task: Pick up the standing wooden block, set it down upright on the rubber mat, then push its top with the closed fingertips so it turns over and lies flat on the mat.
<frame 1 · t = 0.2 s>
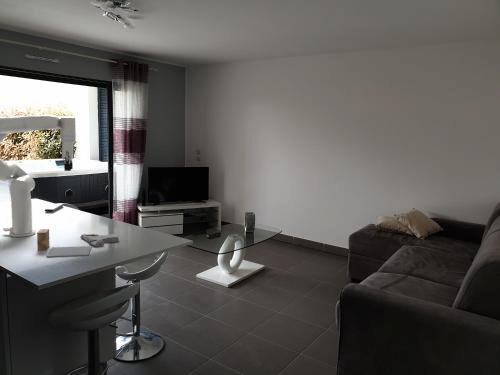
hand: (68, 169, 215), 36 cm above the table, tool pointing down, fingers open, 9 cm apart
wooden block: (43, 248, 190), on the table
pistol: (101, 241, 208), on the table
rubber mat: (69, 252, 186), on the table
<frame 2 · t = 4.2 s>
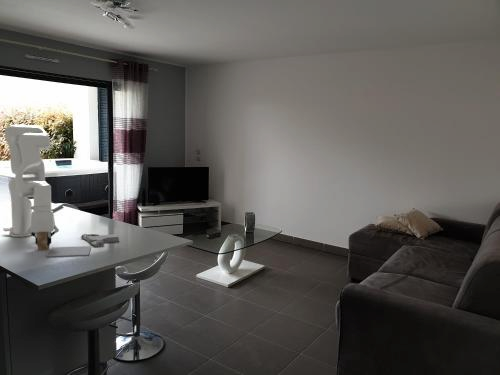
hand: (43, 244, 190), 2 cm above the table, tool pointing down, fingers closed on wooden block, 4 cm apart
wooden block: (43, 248, 190), on the table, touching gripper
everything else where it was.
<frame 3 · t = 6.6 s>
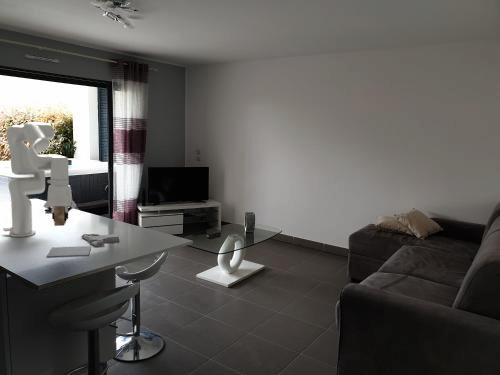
hand: (60, 220, 183), 16 cm above the table, tool pointing down, fingers closed on wooden block, 4 cm apart
wooden block: (60, 223, 183), point 14 cm above the table, touching gripper
everything else where it was.
when the fingers open (4 cm above the table, at t = 9.0 s): wooden block drops 1 cm, resting on rubber mat.
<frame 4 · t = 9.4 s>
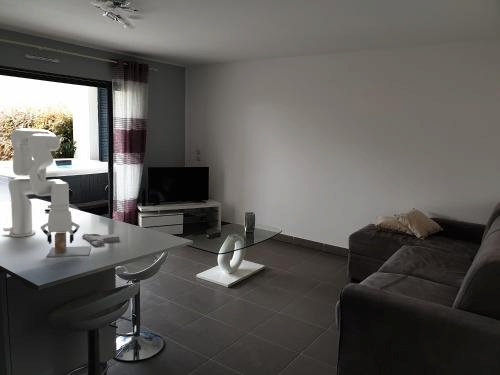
hand: (60, 242, 185), 5 cm above the table, tool pointing down, fingers open, 8 cm apart
wooden block: (60, 251, 185), point 1 cm above the table, touching rubber mat
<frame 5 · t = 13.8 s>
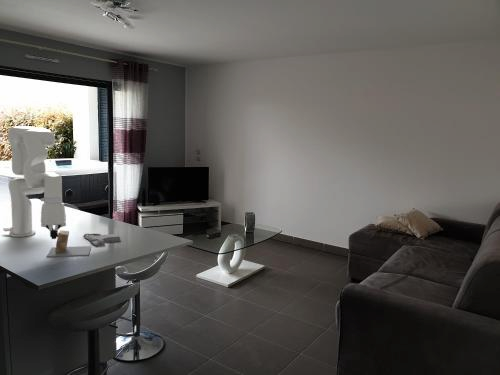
hand: (54, 238, 183), 7 cm above the table, tool pointing down, fingers closed
wooden block: (60, 250, 185), point 1 cm above the table, tilted 9°, touching rubber mat
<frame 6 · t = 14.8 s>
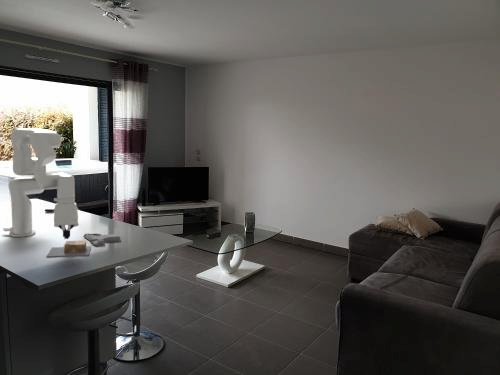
hand: (66, 238, 185), 7 cm above the table, tool pointing down, fingers closed
wooden block: (65, 246, 186), point 3 cm above the table, tilted 90°, touching rubber mat
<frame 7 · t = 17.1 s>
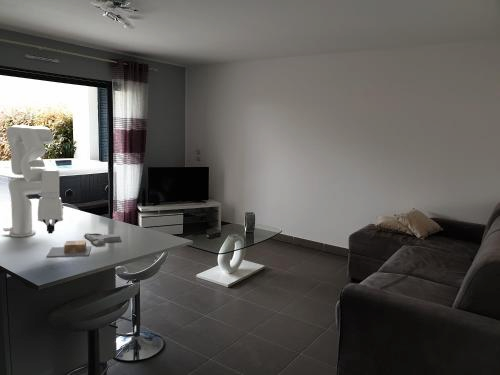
hand: (50, 232, 183), 10 cm above the table, tool pointing down, fingers closed
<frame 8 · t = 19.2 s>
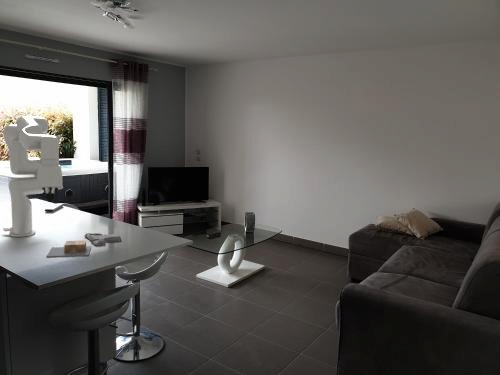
hand: (50, 201, 181), 25 cm above the table, tool pointing down, fingers closed
at the end: wooden block tilted 90°; wooden block inside the target area (3.0 cm from its centre), point 2.6 cm above the table; the gripper is holding nothing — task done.
